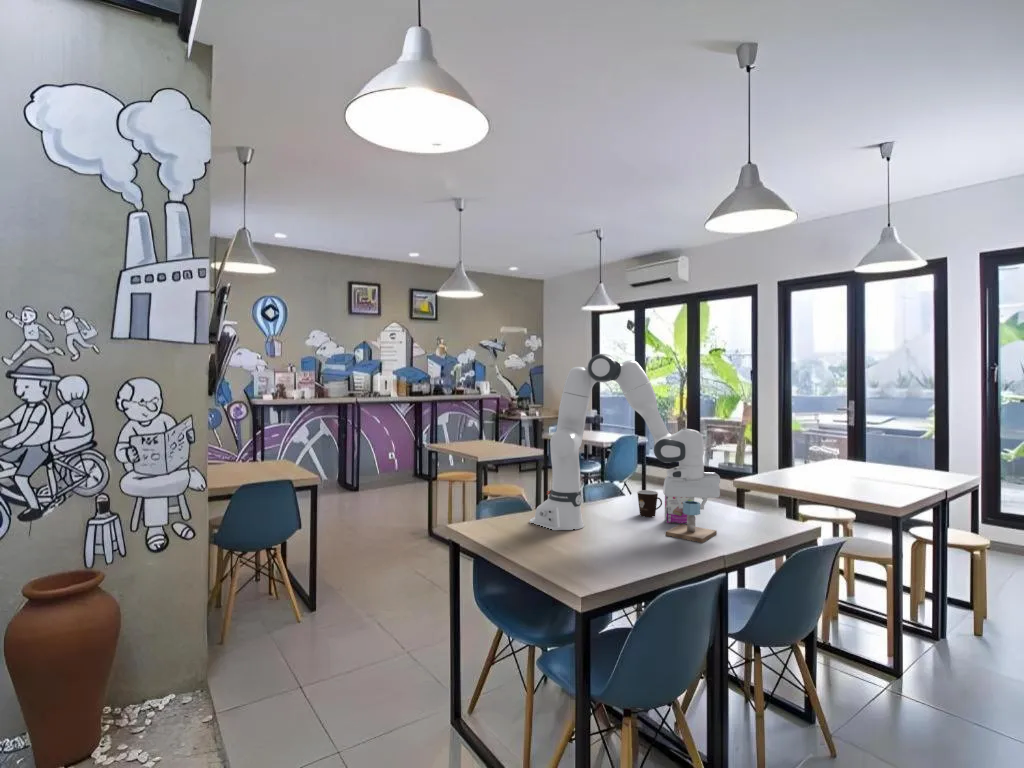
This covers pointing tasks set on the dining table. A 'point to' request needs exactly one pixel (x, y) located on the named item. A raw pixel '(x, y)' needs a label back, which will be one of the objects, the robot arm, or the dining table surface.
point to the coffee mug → (648, 502)
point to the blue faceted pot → (691, 508)
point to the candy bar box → (675, 510)
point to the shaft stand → (691, 531)
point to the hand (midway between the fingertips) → (691, 508)
